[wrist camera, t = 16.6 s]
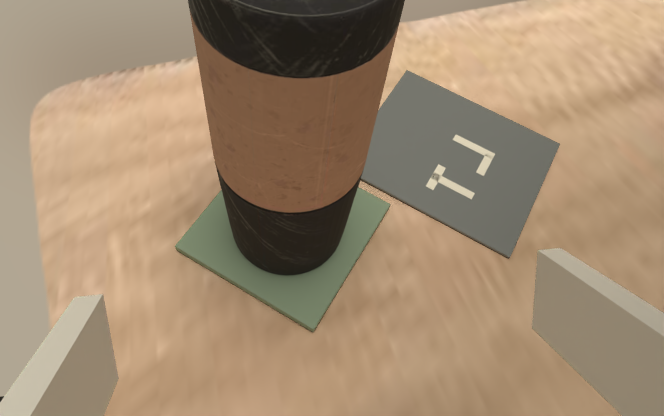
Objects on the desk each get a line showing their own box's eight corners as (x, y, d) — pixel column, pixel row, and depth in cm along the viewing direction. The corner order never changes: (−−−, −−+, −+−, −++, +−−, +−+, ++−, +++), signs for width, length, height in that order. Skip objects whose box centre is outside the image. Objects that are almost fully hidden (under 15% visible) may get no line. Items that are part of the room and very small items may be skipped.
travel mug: (284, 305, 31) (293, 61, 14) (202, 221, 34) (123, -80, 16) (371, 228, 35) (466, -51, 17) (290, 155, 37) (303, -158, 19)
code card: (558, 145, 40) (560, 143, 40) (508, 258, 35) (510, 257, 35) (406, 71, 42) (406, 69, 42) (338, 167, 37) (339, 166, 37)
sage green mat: (388, 208, 36) (390, 204, 36) (313, 332, 31) (313, 329, 31) (265, 142, 38) (265, 137, 37) (176, 250, 33) (175, 246, 33)
